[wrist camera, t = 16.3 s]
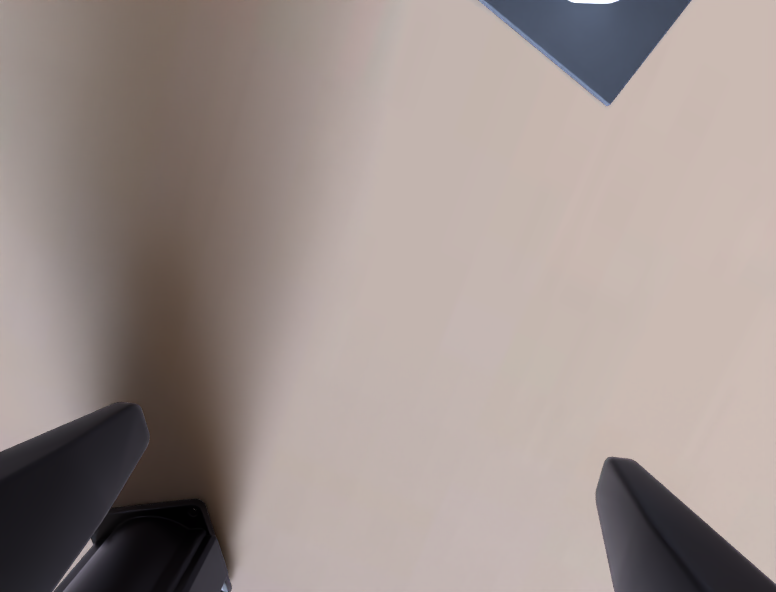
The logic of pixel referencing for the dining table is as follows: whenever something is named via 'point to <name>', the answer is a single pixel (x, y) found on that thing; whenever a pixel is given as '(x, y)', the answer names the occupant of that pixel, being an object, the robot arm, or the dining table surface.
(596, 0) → the eye dropper bottle
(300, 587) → the dining table surface
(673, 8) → the coaster
